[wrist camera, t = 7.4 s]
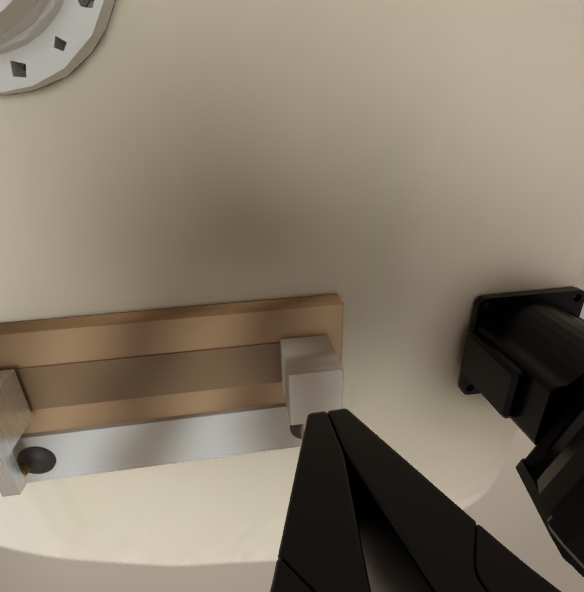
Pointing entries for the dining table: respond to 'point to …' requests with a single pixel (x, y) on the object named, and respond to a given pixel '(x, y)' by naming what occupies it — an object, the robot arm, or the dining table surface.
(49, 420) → the board
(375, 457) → the robot arm
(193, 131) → the dining table surface
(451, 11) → the dining table surface
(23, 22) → the mechanical component
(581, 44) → the dining table surface
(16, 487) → the block
